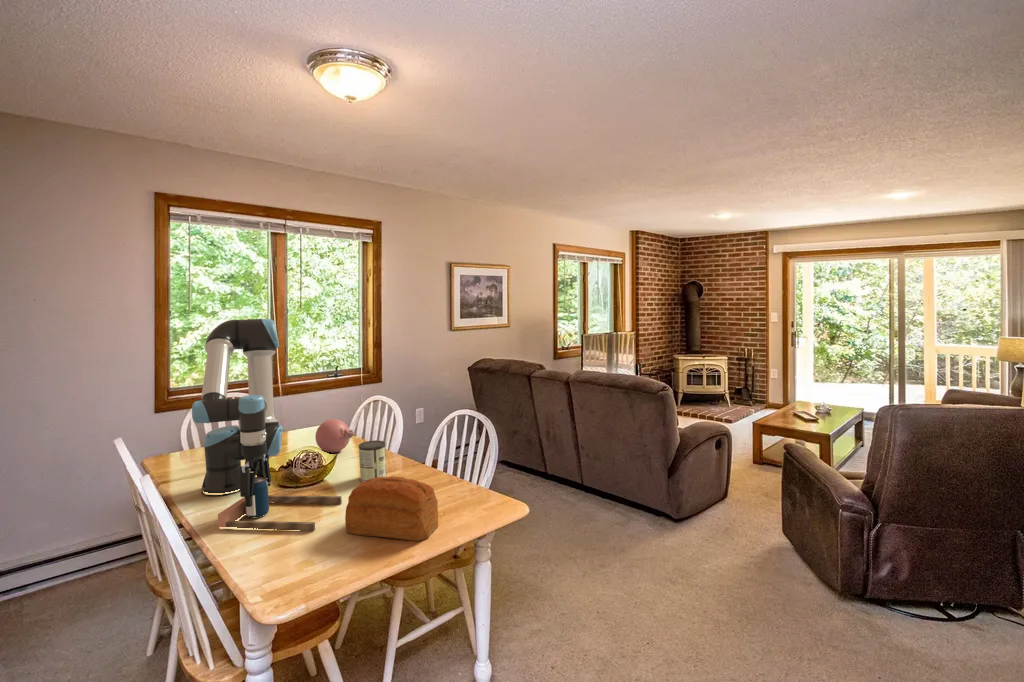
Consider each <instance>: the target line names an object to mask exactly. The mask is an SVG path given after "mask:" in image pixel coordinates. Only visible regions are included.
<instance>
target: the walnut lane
mask: <svg viewBox="0 0 1024 682" xmlns="http://www.w3.org/2000/svg"><path fill="white" fill-rule="evenodd" d="M268 498H269V502H274V503H303V504H302V505H310V504H309V503H315V504H314V505H342V503H343V501H342V496H341V495H291V494H290V495H289V494H288V495H285V494H284V495H281V494H280V495H279V494H278V495H277V494H276V495H274V494H272V495H271V494H268ZM274 503H273V504H274ZM226 527H237V528H253V529H254V528H256V529H257V528H258V529H274V530H275V529H277V530H300V531H299V532H304V531H314V530H316V522H315V521H267V520H266V521H265V520H263V521H261V520H260V521H259V520H258V521H257V520H239V521H227V522H226ZM314 532H315V531H314Z"/></svg>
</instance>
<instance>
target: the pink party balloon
mask: <svg viewBox="0 0 1024 682" xmlns="http://www.w3.org/2000/svg"><path fill="white" fill-rule="evenodd" d="M355 434H356V433H355V432H354V429H350V428H349V426H348V424H346V422H344V421H342V420H340V419H336V418H332V419H331V418H330V419H327V420H325V421H323V422H322V423H321V424H320V425H319V426H318V427H317V429H316V432H315V436H314V437H315V442H316V445H317V446H318V447H319V448H320V449H321V450H322V451H323V450H324V451H323V452H325V451H327V452H326V453H329V452H331V453H330V454H332V453H338V452H341V451H343V450H344V449H345V448H346V447H347V446H348V445H349V442H350V440H351V438H353V437H354V436H355Z"/></svg>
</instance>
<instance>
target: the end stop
mask: <svg viewBox="0 0 1024 682" xmlns="http://www.w3.org/2000/svg"><path fill="white" fill-rule="evenodd" d="M244 514H246V505H245V497H241V498H240V499H238V500H237V501H236V502H235V503H233V504H231V505H230V506H228V507H227V508H225V509H224V510H222V511H221V512H219V513H218V514H217V523H218V528H219V527H226V522H227V521H235V520H237V519H238V518H240V517H241V516H242V515H244Z"/></svg>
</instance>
